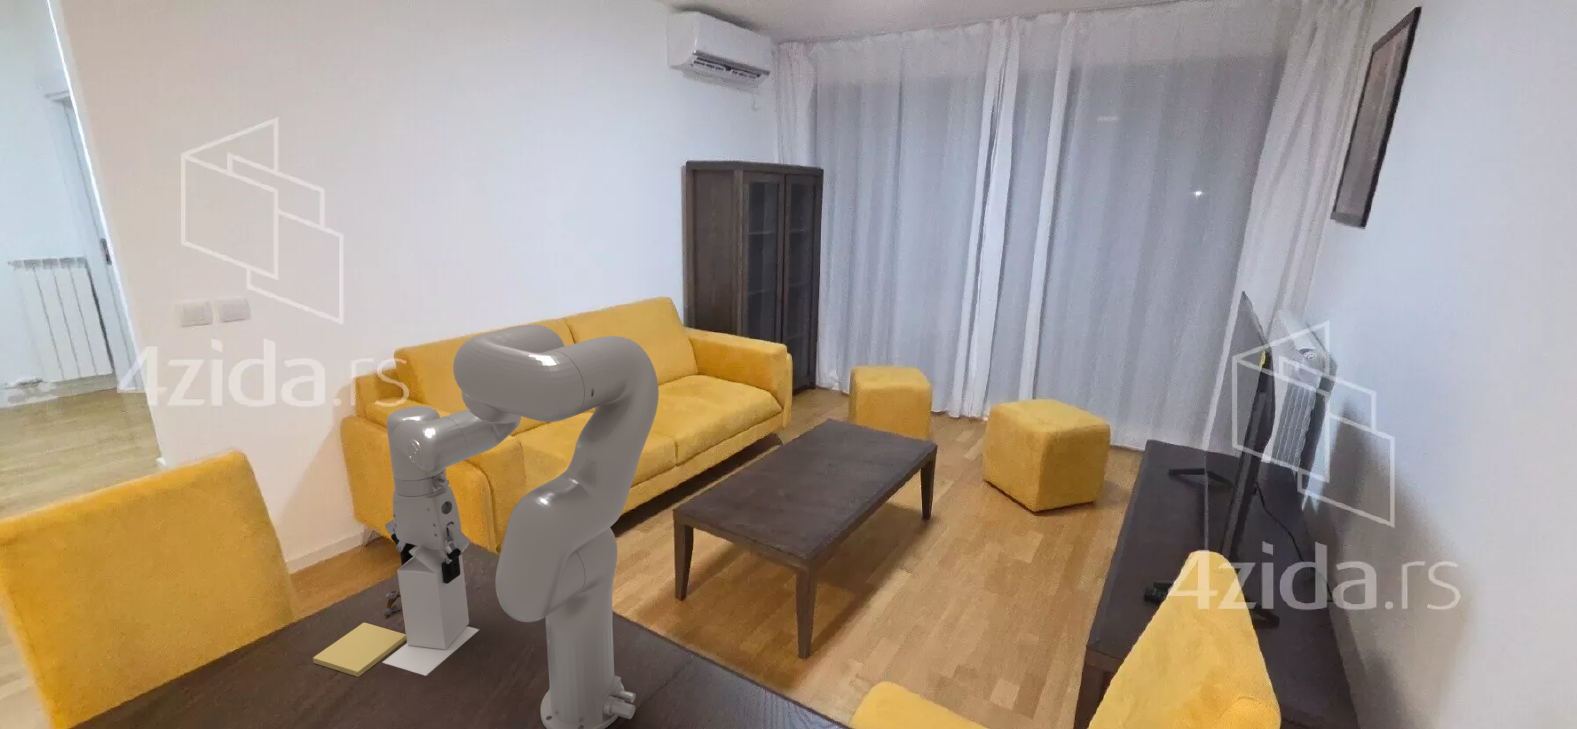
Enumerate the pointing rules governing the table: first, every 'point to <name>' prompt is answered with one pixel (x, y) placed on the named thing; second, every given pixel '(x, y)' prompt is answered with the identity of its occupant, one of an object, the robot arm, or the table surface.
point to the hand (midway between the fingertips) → (431, 573)
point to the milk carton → (431, 600)
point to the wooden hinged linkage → (395, 607)
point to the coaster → (360, 649)
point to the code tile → (426, 654)
